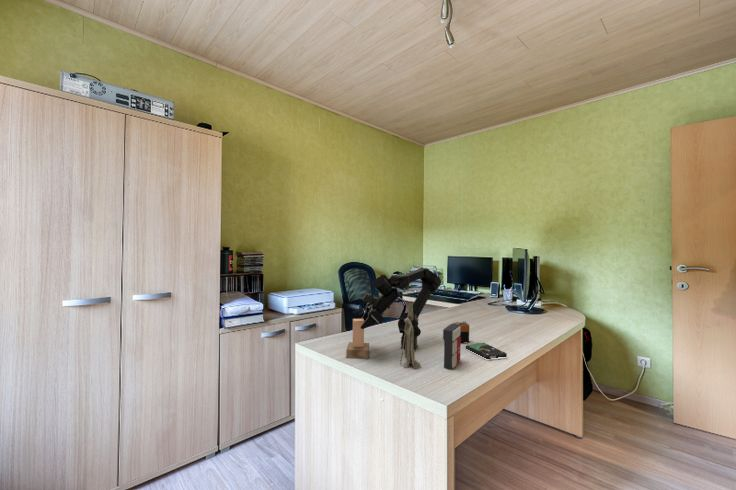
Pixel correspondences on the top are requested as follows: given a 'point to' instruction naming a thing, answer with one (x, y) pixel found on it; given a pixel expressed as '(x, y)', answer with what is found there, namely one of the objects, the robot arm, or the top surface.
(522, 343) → the top surface
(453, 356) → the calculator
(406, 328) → the wizard figurine
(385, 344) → the top surface
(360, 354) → the walnut block
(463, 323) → the battery
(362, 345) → the terracotta block
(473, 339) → the top surface
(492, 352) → the disk drive
